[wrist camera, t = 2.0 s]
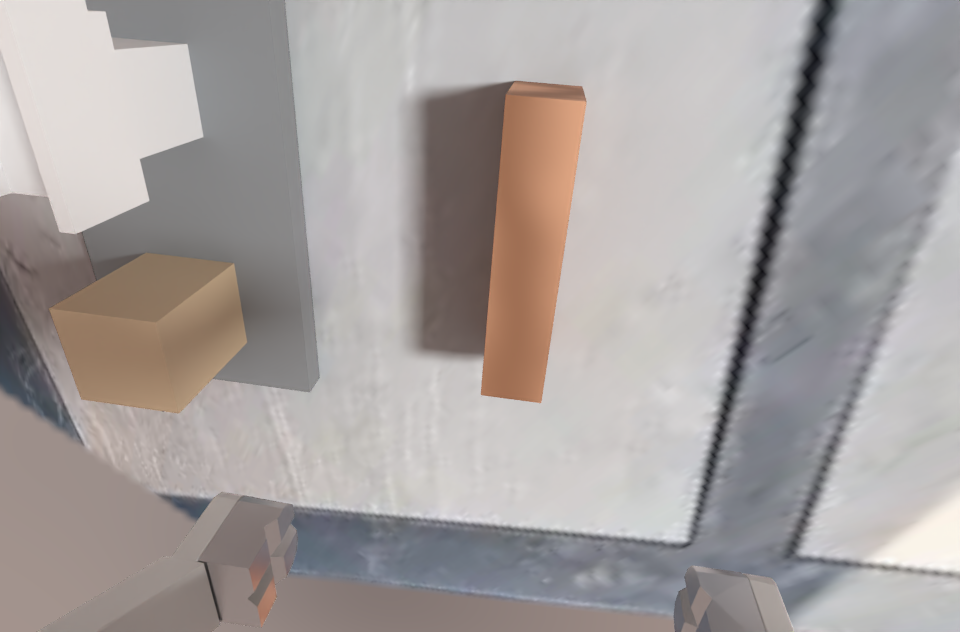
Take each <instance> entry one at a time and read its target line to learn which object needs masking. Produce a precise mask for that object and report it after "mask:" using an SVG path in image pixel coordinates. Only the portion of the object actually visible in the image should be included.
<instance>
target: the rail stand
mask: <svg viewBox="0 0 960 632" xmlns="http://www.w3.org/2000/svg"><path fill="white" fill-rule="evenodd" d="M10 193H16V194H25V195H34V196H43V197H48V198H49V201H50V204H51V207H52V210H53V213H54V217H55V220H56V223H57V226H58V229H59V232H62V233H71V234H77V233H80V232H82V234H83V237H84V241H85V244H86V247H87V251H88V254H89V257H90V260H91V264H92V267H93V270H94V274H95V277H96V280H97V281H96V282H94V283H92V284H91V285H89V286H87V287H85V288H84V289H82V290H80V291H78V292H77V293H75V294H73V295H72V296H70V297H68V298H66V299H65V300H63V301H61V302H59V303H58V304H56V305H54V306H52V307H51V308H49V311H50V313H51V316H52V319H53V322H54V325H55V327H56V330H57V333H58V336H59V338H60V341H61V344H62V347H63V350H64V352H65V355H66V358H67V361H68V363H69V366H70V369H71V372H72V375H73V377H74V380H75V383H76V386H77V389H78V391H79V394H80V397H81V399H83V400H90V401H96V402H103V403H110V404H117V405H124V406H131V407H138V408H145V409H152V410H159V411H166V412H173V413H180V412H181V411H182V410H183V409H184V408H185V407H186V406H187V405H188V404H189V403H190V402H191V401H192V399H193V398H194V397H195V396H196V395H197V394H198V393H199V392H200V391H201V390H202V389H203V388H204V387H205V386H206V385H207V384H208V383H209V382H210V381H211V380H212V379H218V380H225V381H232V382H239V383H247V384H254V385H261V386H268V387H276V388H283V389H290V390H297V391H305V392H310V391H311V390H312V388H313V387H314V385H315V384H316V382H317V381H318V379H319V367H318V356H317V346H316V335H315V324H314V313H313V302H312V292H311V281H310V270H309V259H308V248H307V238H306V227H305V216H304V205H303V195H302V184H301V173H300V162H299V151H298V141H297V130H296V119H295V108H294V97H293V87H292V76H291V65H290V54H289V44H288V33H287V22H286V11H285V0H0V197H1V196H4V195H7V194H10Z"/></svg>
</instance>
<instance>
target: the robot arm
mask: <svg viewBox="0 0 960 632" xmlns="http://www.w3.org/2000/svg"><path fill="white" fill-rule="evenodd" d="M294 516H295V514H294V509H293V505H292V504H287V503H282V502H276V501H271V500H266V499H260V498H255V497H249V496H244V495H238V494H232V493H226V492H221V493H220V494H218V495H217V496H216V497H214V498H213V500H212V501H211V502H210V504H209V505H208V507H207V508H206V509H205V511H204V512H203V513H202V515H201V516H200V518H199V519H198V520H197V522H196V523H195V525H194V526H193V527H192V529H191V530H190V532H189V533H188V534H187V536H186V537H185V538H184V540H183V541H182V543H181V544H180V545H179V547H178V548H177V549H176V551H175V552H174V553H173V555H172V557H166V556H163V557H162V558H160V559H158V560H157V561H155V562H153V563H152V564H150V565H148V566H147V567H145V568H143V569H142V570H140V571H138V572H137V573H135V574H133V575H131V576H130V577H128V578H126V579H125V580H123V581H121V582H120V583H118V584H116V585H115V586H113V587H111V588H109V589H108V590H106V591H105V592H103V593H101V594H99V595H98V596H96V597H94V598H93V599H91V600H89V601H88V602H86V603H84V604H82V605H81V606H79V607H77V608H76V609H74V610H72V611H71V612H69V613H67V614H66V615H64V616H62V617H61V618H59V619H57V620H56V621H54V622H52V623H51V624H49V625H47V626H45V627H44V628H42V629H40V630H39V631H37V632H212V631H214V630H215V629H216V628H217V627H218V626H219V625H220V622H224V623H231V624H238V625H245V626H252V627H259V628H262V626H263V624H264V622H265V620H266V618H267V616H268V614H269V612H270V610H271V608H272V606H273V604H274V602H275V600H276V598H277V594H276V588H275V585H276V584H277V583H279V582H280V581H281V580H283V579H284V578H286V577H287V575H288V573H289V571H290V569H291V567H292V565H293V562H294V558H295V555H296V551H297V543H298V535H297V530H296V529H295V528H294V527H293V526H292V525H291V522H292V520H293V518H294ZM684 578H685V583H686V588H684V589H682V590H680V591H679V592H678V595H677V598H676V601H675V608H674V628H675V632H794V629H793V627H792V624H791V621H790V619H789V616H788V614H787V611H786V608H785V606H784V603H783V601H782V598H781V595H780V593H779V590H778V588H777V585H776V583H775V582H774V581H773V579H772V578H769V577H763V576H757V575H750V574H742V573H741V572H734V571H727V570H720V569H713V568H706V567H699V566H690V567H689V568H688V569H687V572H686V574H685V577H684Z"/></svg>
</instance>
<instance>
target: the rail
mask: <svg viewBox="0 0 960 632" xmlns="http://www.w3.org/2000/svg"><path fill="white" fill-rule="evenodd" d="M585 108H586V98H585V95H584V91H583V88H582V86H570V85H558V84H547V83H535V82H523V81H515V82H514V83H513V85H512V86H511V87H510V89H509V90H508V92H507V93H506V96H505V108H504V120H503V132H502V144H501V156H500V169H499V181H498V193H497V205H496V217H495V229H494V241H493V253H492V266H491V278H490V290H489V302H488V314H487V326H486V338H485V350H484V363H483V375H482V387H481V395H485V396H492V397H500V398H507V399H515V400H522V401H530V402H537V403H541V400H542V394H543V387H544V380H545V374H546V367H547V360H548V354H549V347H550V341H551V334H552V327H553V321H554V314H555V307H556V301H557V294H558V287H559V281H560V274H561V267H562V261H563V254H564V247H565V241H566V234H567V228H568V221H569V214H570V208H571V201H572V194H573V188H574V181H575V174H576V168H577V161H578V154H579V148H580V141H581V135H582V128H583V121H584V115H585Z"/></svg>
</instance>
